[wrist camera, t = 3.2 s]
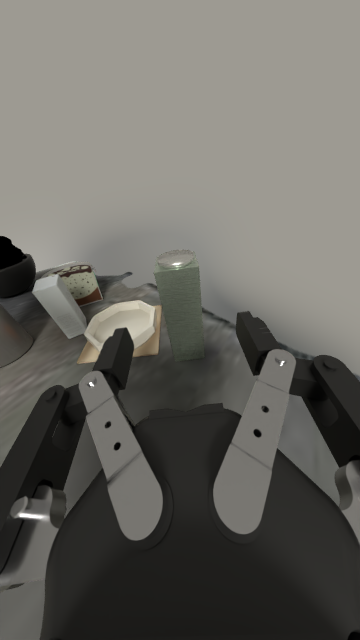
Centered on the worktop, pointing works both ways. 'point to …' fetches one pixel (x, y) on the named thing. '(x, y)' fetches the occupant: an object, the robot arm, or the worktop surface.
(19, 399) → the worktop surface
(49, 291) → the skincare box
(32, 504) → the robot arm
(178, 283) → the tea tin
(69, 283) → the food container
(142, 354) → the board
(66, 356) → the worktop surface
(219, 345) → the worktop surface
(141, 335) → the bowl
